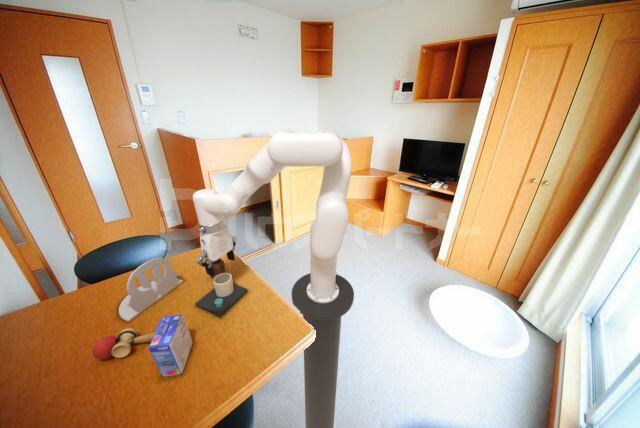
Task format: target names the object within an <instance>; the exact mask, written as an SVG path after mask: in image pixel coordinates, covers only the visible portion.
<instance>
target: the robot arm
mask: <svg viewBox="0 0 640 428" xmlns="http://www.w3.org/2000/svg"><path fill="white" fill-rule="evenodd" d="M352 159H353V158H352V155H351V151H350V149H349V146H348V145H347V143H346V141H345V139H344V138H342V136H341V135H340V134H339V133H337V132H336V131H335V130H334V129H331V128H321V129H320V130H318V131H317V132H309V133H308V132H307V133H306V132H305V133H304V132H303V133H302V132H299V133H298V132H295V131H293V130H291V129H289V128H288V129H286V128H285V129H281V130H278V131H277V132H276V133H274V134H273V135H272V136H271V137H270V138H269V140H268V141H267V142H266V144H264V145H263V146H262V147H261V148H260V150H259V151H258V152H256V154H255V155H254V156H252V158H250V160H249V161H248V163H247V164H246V166H245V168H244V170H243V171H242V172H241V173H240V174H239V175H238V176H237V177H236V178H235V179H234V180H233V181H232V182H231V183H230V184H229V185H228V186H227V187H226V188H225V189H224V190H223V191H221V192H218V191H217V190H216V189H214V188H203V189H199V190H196V191H194V193H193V194H192V201H193V206H194V209H195V213H196V217H197V220H198V225H199V226H198V227H199V228H198V229H197V232H198V234H199V243H200V249H201V253H200V254H199V256H198V257H197V258H196V260H195V263H196V264H197V265H199V266H201V267H204V269H205V273H206V274H207V276H210V275H211V276H215V272H214V268H213V266H212V263H213V261H216V260H218V259H219V258H221V259H222V257H224V256H225V255H226V258H227V260H229V261H232V262H235V261H236V258H235V249H236V248H235V247H236V244H237V236H235V235H232V234H231V231H230V229H229V227H228V225H227V224H225V220H224V217H233V216H235V215H236V214H237V213H238V212H239V211H240V210H241V209H242V207H243V205H244V204H245V203H246V202H247V201H248V199H249V198H250V197H251V196H252V195H253V194H255V192H256V191H257V190H259V189H260V188H261V187H262V186H264V185H267V184H270V183H271V182H272V181H273V180H274V179H275V178H276V177H277V176H278V175H279V174H280V173H281V172H282V171H283V170H284V169H285V168H286V167H323V173H322V181H321V185H320V188H319V189H320V190H319V194H318V196H317V200H316V204H315V205H316V210H315V211H316V212H315V213H316V214H315V219H314V220H313V221H312V222H311V225H310V227H309V228H310V229H309V249H310V273H311V283H310V284H309V285H308V286H307V295H308V297H309V298H310V299H311V300H312V301H314V302H317V303H330V302H332V301H334V300H335V299H336V298H337V297H338V295H339V288H338V286H337V284H336V283H335V281H336V275H337V274H338V273H337V261H338V254H339V252H340V251H341V248H342V245H343V241H344V239H345V234H346V230H347V227H348V224H349V217H350V212H349V211H350V210H349V206H348V203H347V195H348V192H349V188H350V182H351V178H352V172H353V160H352ZM208 260H209V261H208ZM208 262H209V263H208ZM211 276H210V277H211Z"/></svg>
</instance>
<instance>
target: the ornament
mask: <svg viewBox="0 0 640 428" xmlns="http://www.w3.org/2000/svg"><path fill="white" fill-rule="evenodd" d="M162 265H163V271H162ZM150 269H151V275H152V278H153V280H152V281H151V279H150V276H149V274H148V273H146V272H147V271H149V270H150ZM163 273H164V274H163ZM178 274H179V272H178V271H175V270H174V269H173V266H172V264H171V262H170V261H169V260H168V259H166V258H163V257H156V258H152V259H149V260H147V261H145V262H144V263H142V264H141V265H139V266H137V268H136V269H134V270H133V271H132V272H131V273H130V276H129V277H128V279H127V283H126V292H127V295H126V296H125V297H124V298H123V299H122V301H121V302H120V305H119V306H118V315H119V317H120V318H121V319H122V320H123V321H126V322H131V321H132V320H133V319H135V318H136V317H137V316H139V315H140V314H141V313H143V312H144V311H145V310H147V309H148V308H149V307H151V306H152V305H154V304H155V303H156V302H157V301H159V300H160V299H162V298H163V297H165V295H167V294H168V293H170V292H171V291H172V290H174V289H175V288H177V287H178V286H179V285H181V284H182V283H184V280H183V279H181V278H178V277H177V276H178ZM133 279H136V281H138V283H139V286H138V287H137V286H136V284H135V282H134V281H133Z"/></svg>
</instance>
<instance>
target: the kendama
mask: <svg viewBox="0 0 640 428" xmlns="http://www.w3.org/2000/svg"><path fill="white" fill-rule="evenodd" d="M156 332H157V331H154V332H150V333H146V334H142V335H138V334H139V332H138V330H137V329H135V328H133V327H128V328H127V327H126V328H124V329H122V330H121V331H120V332H119V333H118V335H117V336H116V335H115V336H114V335H107V336H104V337H102V338H100V339H98V340H97V341H96V342H95V343H94V345H93V347H92V350H91V351H92V356H93V358H94V359H96V360H99V361H105V360H108V359H111V358H112V357H114V358H116V359H117V358H118V359H121V358H125V357H127V356H128V355H130V353H131V351H132V345H133V344H144V343H151V341H152V339H153V338H154V336H155V334H156Z"/></svg>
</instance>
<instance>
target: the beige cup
mask: <svg viewBox="0 0 640 428" xmlns="http://www.w3.org/2000/svg"><path fill="white" fill-rule="evenodd" d="M212 283H213V287H214V288H215V293H216V295H217V296H219V297H225V296H228V295H230V294H231V293H232V292H233V291H234V285H233V284H234V280H233V275H232V274H231V273H230V272H224V273H221V274H219V275H217V276H215V277H214V278H212ZM214 288H213V289H214Z"/></svg>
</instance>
